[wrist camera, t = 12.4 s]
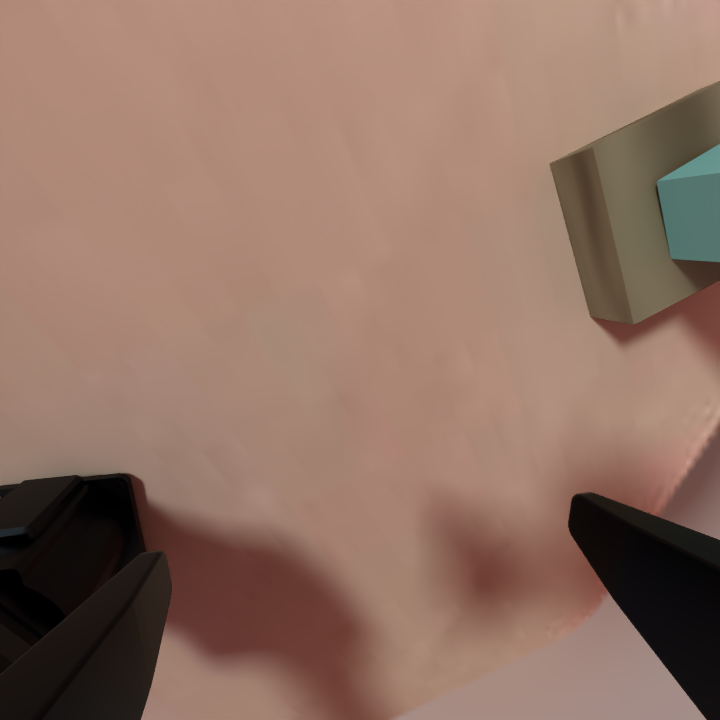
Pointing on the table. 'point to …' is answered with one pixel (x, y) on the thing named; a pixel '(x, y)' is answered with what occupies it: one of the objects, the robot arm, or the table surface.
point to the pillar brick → (693, 208)
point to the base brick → (635, 209)
